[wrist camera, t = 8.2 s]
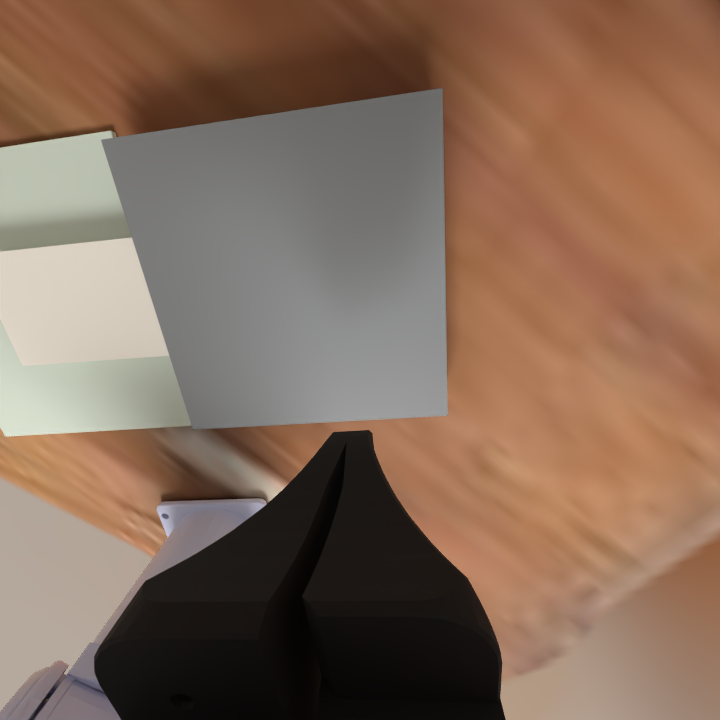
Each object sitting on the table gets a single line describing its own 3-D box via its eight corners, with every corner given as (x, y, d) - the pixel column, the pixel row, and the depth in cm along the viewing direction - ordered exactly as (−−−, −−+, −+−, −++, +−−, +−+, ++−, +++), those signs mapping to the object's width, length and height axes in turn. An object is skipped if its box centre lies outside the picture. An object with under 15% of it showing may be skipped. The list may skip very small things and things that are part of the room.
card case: (188, 346, 19) (172, 355, 18) (47, 356, 20) (22, 366, 19) (156, 237, 17) (136, 237, 16) (1, 253, 18) (-31, 254, 17)
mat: (203, 422, 21) (201, 425, 21) (10, 434, 23) (5, 436, 23) (115, 132, 16) (110, 130, 16) (-132, 170, 17) (-141, 169, 17)
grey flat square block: (439, 393, 20) (447, 415, 17) (214, 408, 21) (193, 429, 19) (433, 111, 15) (442, 87, 12) (141, 153, 16) (100, 139, 14)
